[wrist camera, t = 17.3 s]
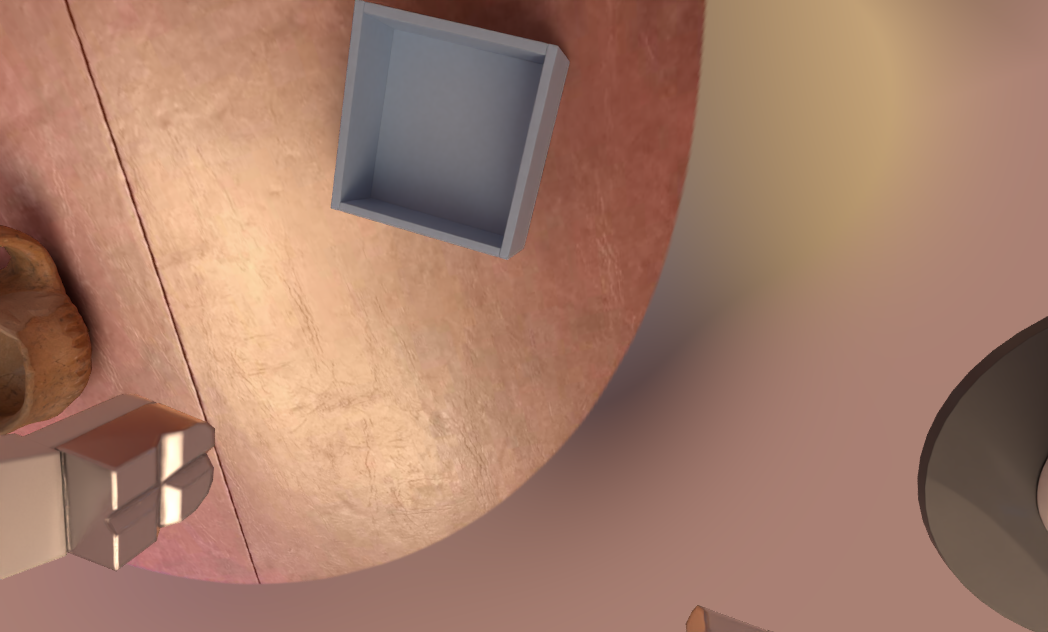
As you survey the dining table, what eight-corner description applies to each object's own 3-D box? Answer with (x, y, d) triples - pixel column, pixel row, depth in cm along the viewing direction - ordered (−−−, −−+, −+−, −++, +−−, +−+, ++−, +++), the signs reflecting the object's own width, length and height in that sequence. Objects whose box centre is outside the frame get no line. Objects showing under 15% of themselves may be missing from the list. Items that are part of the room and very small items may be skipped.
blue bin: (570, 61, 32) (558, 45, 28) (524, 248, 36) (507, 260, 32) (391, 19, 34) (354, -2, 30) (366, 203, 38) (330, 208, 34)
